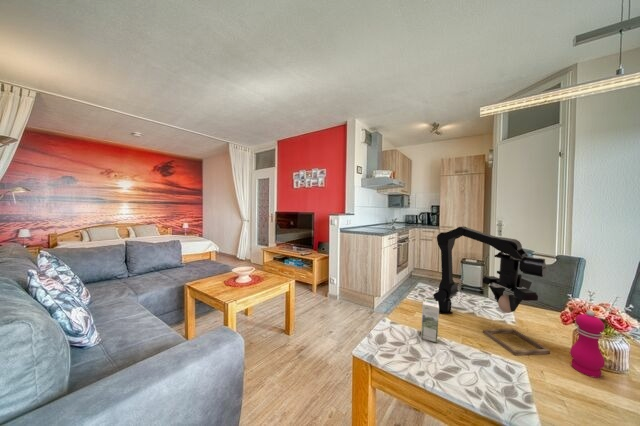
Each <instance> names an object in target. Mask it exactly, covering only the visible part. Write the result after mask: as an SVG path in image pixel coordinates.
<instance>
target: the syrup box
mask: <svg viewBox="0 0 640 426" xmlns="http://www.w3.org/2000/svg"><path fill="white" fill-rule="evenodd" d="M421 313H422V314H421V331H420V333H421V335H420V337H421V340H424V341H428V342H433V343H436V344H437V343H438V333H439V317H440V316H439V315H440V313H439V305H438V301H435V300H431V299H426V298H422V311H421Z"/></svg>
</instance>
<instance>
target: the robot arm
mask: <svg viewBox="0 0 640 426" xmlns="http://www.w3.org/2000/svg"><path fill="white" fill-rule="evenodd" d="M461 237H465V238H469V239H471V240H474V241H478V242H480V243H483V244H486V245H488V246H491V247H492V248H494V249H495V250H497V251H499V252H498V253H496V254H494V256H493V257H494V258H498V259H500V260H499V270H497V271H496V274H498V275H499V277H497V276H494V275H493V276H492V275H490V276H488V275H487V276H484V277H483V278H482V283H483V284H485V285H487V286H488V288H489V289H490V290H491V292H492V294H493V296H494V298H495V300H496V303H498V300H499V298H500V297H501V296H502V295H504V292H505V290H508V291H510V292H512V293H513V294H508V295H509V302H510V308H511V311H512V312H511V313H515V311H516V310H517V308H518V307H519V305H520V304H521V302H523V301H524V302H525V301H527V302H529V301H532V302H533V301H536V302H537V301H538V300H539V295H538V293H537V292H535V291H533V290H530V289H531V286H532V283H533V282H532V281H530V280H528V279H527V280H526V279H524V278H522V277H523V276H522V274H525V275H528V276H534V277H537V278H545V277H546V274H547V271H548V270H547V268H548V267H547V264H546V259H545V258H540V257H538V258H537V257H531V256H529V254H527V253H526V251H525V249H523V246H522V243H521V241H520V240H518V239H516V238H509V237H503V236H494V235H491V234H488V233H486V232H482V231H478V230H476V229H472V228H469V227H467V226H464V225H463V226H458V227H456V228H454V229H452V230H449V231H445V232H440V233H438V234H437V235H436V242H437V246H438V248H439V249H440V264H441V265H440V266H441V280H440V283H439V286H438V291H437V292H435V293H433V294H432V295H433V299H434V301H438V305H439V314H443V315H446V314H453V311H452V299H453V298H454V297H455V296H456V295H457V293H458V292H459V289H458V286H459V284H458V282H457V283H455V281H454V277H453V248H454V246H455V244H456V243H455V242H456V239H459V238H461ZM519 270H520V272H522V274H520V273H519Z"/></svg>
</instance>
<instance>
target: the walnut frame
mask: <svg viewBox="0 0 640 426" xmlns="http://www.w3.org/2000/svg"><path fill="white" fill-rule="evenodd" d="M482 333H483V334H484V335H486V336H487V337H488V338H490V339H491V340H492V341H493V342H495V343H496V344H498V345H499V346H501V347H502V348H504V349H505V350H506V351H508V352H509V353H510V354H512V355H513V356H514V357H515V356H534V355H551V350H550V349H548V348H547V347H545V346H544V345H542V344H540V343H538V342H536V341H534V340H533V339H531V338H530V337H529V336H526V335H524V334H523V333H522V332H520V331H518V330H516V329H514V328H500V329H499V328H498V329H497V328H496V329H493V328H491V329H482ZM494 334H515V335H516V336H517V337H519V338H521V339H522V340H523V341H526V342H527V343H528V344H531V345H532V346H534V347H535V349H517V350H516V349H514V348H512V347H511V346H509V345H508V344H506V343H505V342H504V341H502V340H501V339H499V338H498V337H496V336H495V335H494ZM536 348H537V349H536Z"/></svg>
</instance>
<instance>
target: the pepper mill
mask: <svg viewBox="0 0 640 426" xmlns="http://www.w3.org/2000/svg"><path fill="white" fill-rule="evenodd" d="M595 315H596V313H595V312H594V311H593V310H586V313H581V314H577V316H575V323H576V325H577V326H576V328H577V329H576V331H577V333H578V337H577V340H576V341H575V343H573V345H572V346H571V348H570V352H569V354H570V356H571V358H572V359H571V363H570V364H571V367H572V368H573V369H575V370H576V371H577V372H579V373H580V374H583V375H586V376H588V377H591V376H592V377H593V378H600V377H601V376H602V370H601V369H602V368H604V367H605V357H604V356H603V353H602V352H601V350H600V346H599V340H600V339H602V332H604V331H605V328H606V327H605V324H604V322H603V320H601V318H599V317H596V316H595Z"/></svg>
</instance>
